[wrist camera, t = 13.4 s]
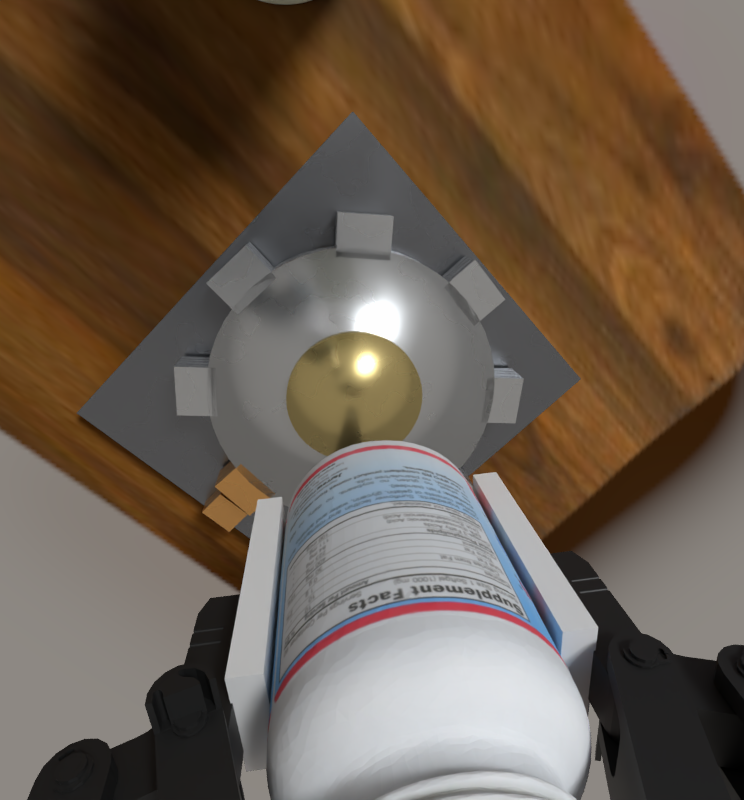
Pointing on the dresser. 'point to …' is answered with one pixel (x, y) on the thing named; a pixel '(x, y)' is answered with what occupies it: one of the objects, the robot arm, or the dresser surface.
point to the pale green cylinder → (284, 1)
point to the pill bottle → (412, 646)
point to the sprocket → (344, 359)
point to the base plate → (277, 241)
